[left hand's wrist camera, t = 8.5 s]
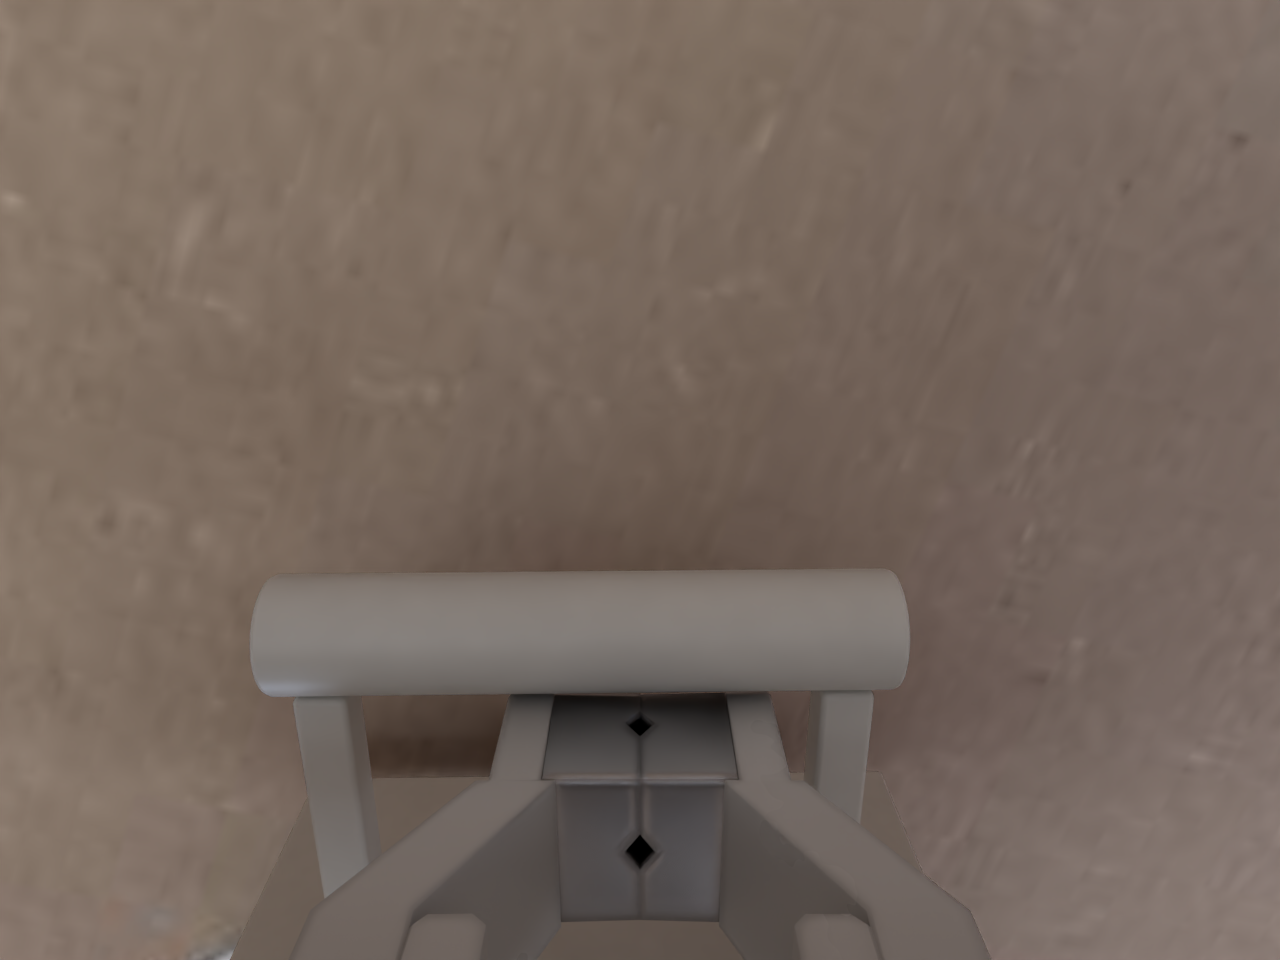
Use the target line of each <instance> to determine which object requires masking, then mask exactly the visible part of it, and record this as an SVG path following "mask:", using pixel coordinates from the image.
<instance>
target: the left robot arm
mask: <svg viewBox="0 0 1280 960" xmlns="http://www.w3.org/2000/svg"><path fill="white" fill-rule="evenodd" d="M619 920H659V921H694V922H719V927H720V928H721V929H722V931H723V932H724V933H725V935H726V936H727V938H728V939H729V940H730V942H731V943H732V944H733V946H734V947H735V948H736V950H737V951H738V952H739V954H740V955H741V956H742V958H743V959H744V960H991V957H990V955H989V953H988V951H987V948H986V946H985V944H984V941H983V939H982V937H981V934H980V932H979V930H978V927H977V925H976V923H975V921H974V918H973V916H972V914H971V911H970V910H968V909H967V908H966V907H964V906H963V905H962V904H961V903H959V902H958V901H957V900H956V899H954V898H953V897H952V896H950V895H949V894H948V893H947V892H945V891H944V890H943V889H942V888H940V887H939V886H938V885H936V884H935V883H934V882H933V881H931V880H930V879H929V878H928V877H926V876H925V875H924V874H922V873H921V872H920V871H919V870H917V869H916V868H915V867H914V866H912V865H911V864H910V863H909V862H907V861H906V860H905V859H903V858H902V857H901V856H900V855H898V854H897V853H896V852H895V851H893V850H892V849H891V848H889V847H888V846H887V845H886V844H884V843H883V842H882V841H881V840H879V839H878V838H877V837H875V836H874V835H873V834H872V833H870V832H869V831H868V830H867V829H865V828H864V827H863V826H861V825H860V824H859V823H858V822H856V821H855V820H854V819H853V818H851V817H850V816H849V815H847V814H846V813H845V812H844V811H842V810H841V809H840V808H839V807H837V806H836V805H835V804H833V803H832V802H831V801H830V800H828V799H827V798H826V797H825V796H823V795H822V794H821V793H819V792H818V791H817V790H816V789H814V788H813V787H812V786H811V785H809V784H808V783H807V782H806V781H804V780H791V776H790V772H789V768H788V764H787V760H786V756H785V752H784V748H783V744H782V740H781V736H780V732H779V728H778V724H777V719H776V715H775V711H774V707H773V703H772V699H771V695H770V694H769V693H768V692H767V691H742V692H724V693H686V694H641V693H567V694H511V695H510V696H509V698H508V702H507V706H506V710H505V714H504V718H503V722H502V727H501V731H500V735H499V739H498V743H497V747H496V751H495V755H494V760H493V764H492V768H491V772H490V776H489V780H476V781H474V782H473V783H472V784H471V785H469V786H468V787H467V788H466V789H464V790H463V791H462V792H460V793H459V794H458V795H457V796H455V797H454V798H453V799H451V800H450V801H449V802H448V803H446V804H445V805H444V806H443V807H441V808H440V809H439V810H437V811H436V812H435V813H434V814H432V815H431V816H430V817H428V818H427V819H426V820H425V821H423V822H422V823H421V824H420V825H418V826H417V827H416V828H414V829H413V830H412V831H411V832H409V833H408V834H407V835H405V836H404V837H403V838H402V839H400V840H399V841H398V842H397V843H395V844H394V845H393V846H391V847H390V848H389V849H388V850H386V851H385V852H384V853H382V854H381V855H380V856H379V857H377V858H376V859H375V860H374V861H372V862H371V863H370V864H368V865H367V866H366V867H365V868H363V869H362V870H361V871H359V872H358V873H357V874H356V875H354V876H353V877H352V878H350V879H349V880H348V881H347V882H345V883H344V884H343V885H342V886H340V887H339V888H338V889H336V890H335V891H334V892H333V893H331V894H330V895H329V896H327V897H326V898H325V899H324V900H322V901H321V902H320V903H319V904H317V905H316V906H315V907H313V908H312V909H311V910H310V912H309V914H308V917H307V919H306V921H305V924H304V926H303V928H302V930H301V933H300V935H299V937H298V939H297V942H296V944H295V946H294V949H293V951H292V953H291V955H290V958H289V960H537V958H538V957H539V956H540V954H541V953H542V952H543V950H544V949H545V948H546V946H547V945H548V944H549V942H550V941H551V940H552V938H553V937H554V936H555V934H556V933H557V932H558V930H559V929H560V928H561V922H585V921H619Z"/></svg>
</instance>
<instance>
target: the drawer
mask: <svg viewBox="0 0 1280 960" xmlns="http://www.w3.org/2000/svg"><path fill="white" fill-rule="evenodd" d="M909 654H910V623H909V614H908V608H907V603H906V599H905V595H904V592H903V589H902V586H901V583H900V581H899V579H898V577H897V576H896V574H895V573H894V572H893V571H890V570H888V569H885V568H878V569H765V570H651V571H537V572H423V573H309V574H277V575H275V576H273V577H271V578H269V579H268V580H267V581H266V582H265V584H264V585H263V586H262V588H261V590H260V592H259V595H258V597H257V600H256V603H255V606H254V610H253V615H252V620H251V628H250V661H251V667H252V672H253V676H254V679H255V681H256V684H257V686H258V687H259V689H260V690H261V691H262V692H263V693H264V694H266V695H269V696H271V697H295V699H294V702H293V709H294V715H295V721H296V727H297V733H298V739H299V746H300V752H301V758H302V764H303V770H304V776H305V782H306V789H307V795H308V797H307V799H306V802H305V804H304V806H303V808H302V810H301V812H300V814H299V816H298V818H297V820H296V822H295V825H294V827H293V829H292V831H291V833H290V835H289V837H288V839H287V841H286V843H285V846H284V848H283V850H282V852H281V854H280V856H279V858H278V860H277V862H276V864H275V866H274V869H273V871H272V873H271V875H270V877H269V879H268V881H267V883H266V885H265V887H264V889H263V892H262V894H261V896H260V898H259V900H258V902H257V904H256V906H255V908H254V910H253V912H252V915H251V917H250V919H249V921H248V923H247V925H246V927H245V929H244V931H243V933H242V935H241V938H240V940H239V942H238V944H237V946H236V948H235V950H234V952H233V954H232V956H231V959H230V960H289V958H290V955H291V953H292V951H293V949H294V946H295V944H296V942H297V939H298V937H299V935H300V933H301V930H302V928H303V926H304V924H305V921H306V919H307V917H308V914H309V912H310V910H311V909H312V908H313V907H315V906H316V905H317V904H319V903H320V902H321V901H322V900H324V899H325V898H326V897H327V896H329V895H330V894H331V893H333V892H334V891H335V890H336V889H338V888H339V887H340V886H342V885H343V884H344V883H345V882H347V881H348V880H349V879H350V878H352V877H353V876H354V875H356V874H357V873H358V872H359V871H361V870H362V869H363V868H365V867H366V866H367V865H368V864H370V863H371V862H372V861H374V860H375V859H376V858H377V857H379V856H380V855H381V854H382V853H384V852H385V851H386V850H388V849H389V848H390V847H391V846H393V845H394V844H395V843H397V842H398V841H399V840H400V839H402V838H403V837H404V836H405V835H407V834H408V833H409V832H411V831H412V830H413V829H414V828H416V827H417V826H418V825H420V824H421V823H422V822H423V821H425V820H426V819H427V818H428V817H430V816H431V815H432V814H434V813H435V812H436V811H437V810H439V809H440V808H441V807H443V806H444V805H445V804H446V803H448V802H449V801H450V800H451V799H453V798H454V797H455V796H457V795H458V794H459V793H460V792H462V791H463V790H464V789H466V788H467V787H468V786H469V785H471V784H472V783H473V782H474V781H476V780H489V777H419V778H372V774H371V767H370V759H369V751H368V744H367V736H366V728H365V721H364V713H363V705H362V697H361V696H393V695H480V694H567V693H653V692H740V691H811V695H810V708H809V720H808V732H807V745H806V757H805V770H804V772H793V773H790V776H791V780H804V781H806V782H807V783H808V784H809V785H811V786H812V787H813V788H814V789H816V790H817V791H818V792H819V793H821V794H822V795H823V796H825V797H826V798H827V799H828V800H830V801H831V802H832V803H833V804H835V805H836V806H837V807H839V808H840V809H841V810H842V811H844V812H845V813H846V814H847V815H849V816H850V817H851V818H853V819H854V820H855V821H856V822H858V823H859V824H860V825H861V826H863V827H864V828H865V829H867V830H868V831H869V832H870V833H872V834H873V835H874V836H875V837H877V838H878V839H879V840H881V841H882V842H883V843H884V844H886V845H887V846H888V847H889V848H891V849H892V850H893V851H895V852H896V853H897V854H898V855H900V856H901V857H902V858H903V859H905V860H906V861H907V862H909V863H910V864H911V865H912V866H914V867H915V868H916V869H917V870H919V871H920V872H921V873H922V874H923V872H922V870H921V867H920V865H919V862H918V860H917V858H916V855H915V853H914V850H913V848H912V846H911V843H910V841H909V838H908V836H907V833H906V831H905V829H904V826H903V824H902V821H901V819H900V817H899V814H898V812H897V809H896V807H895V805H894V802H893V800H892V797H891V795H890V793H889V790H888V788H887V785H886V783H885V781H884V778H883V776H882V773H881V772H878V771H868V772H866V767H867V758H868V749H869V740H870V731H871V722H872V713H873V704H874V695H873V692H872V690H893V689H895V688H897V687H899V686H900V685H901V684H902V682H903V680H904V678H905V675H906V672H907V667H908V662H909ZM537 960H744V959H743V958H742V956H741V955H740V954H739V952H738V951H737V950H736V948H735V947H734V946H733V944H732V943H731V942H730V940H729V939H728V938H727V936H726V935H725V933H724V932H723V931H722V929H721V928H720V927H719V922H694V921H659V920H619V921H585V922H561V928H560V929H559V930H558V932H557V933H556V934H555V936H554V937H553V938H552V940H551V941H550V942H549V944H548V945H547V946H546V948H545V949H544V950H543V952H542V953H541V954H540V956H539V957H538V958H537Z"/></svg>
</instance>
